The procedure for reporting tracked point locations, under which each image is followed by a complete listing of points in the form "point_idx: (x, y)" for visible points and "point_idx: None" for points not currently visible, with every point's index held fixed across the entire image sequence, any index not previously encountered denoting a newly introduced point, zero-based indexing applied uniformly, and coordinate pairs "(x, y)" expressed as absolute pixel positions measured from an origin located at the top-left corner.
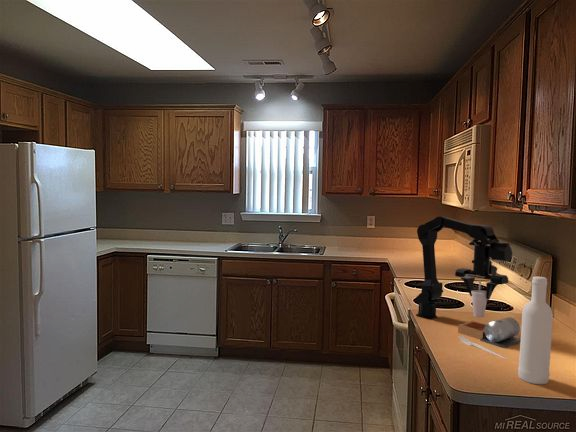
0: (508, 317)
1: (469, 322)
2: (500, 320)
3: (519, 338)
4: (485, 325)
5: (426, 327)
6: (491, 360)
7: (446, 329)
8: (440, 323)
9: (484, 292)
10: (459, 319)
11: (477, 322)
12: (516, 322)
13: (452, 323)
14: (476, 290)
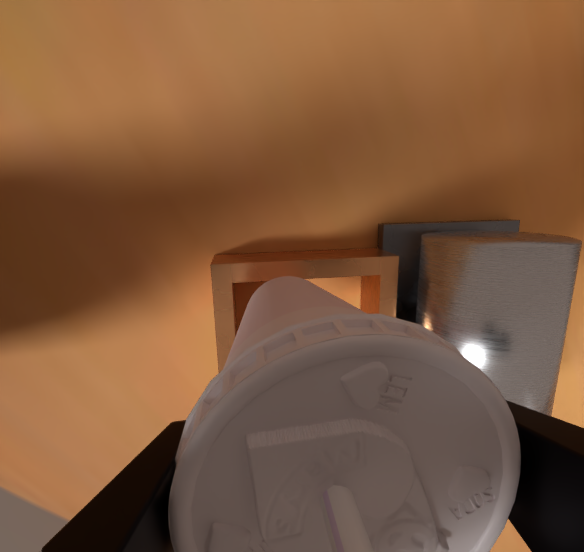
0: (535, 260)
1: (228, 327)
2: (525, 402)
3: (503, 224)
4: (324, 277)
5: (66, 491)
6: (504, 548)
7: (152, 418)
8: (34, 355)
9: (441, 466)
10: (8, 133)
11: (258, 272)
12: (578, 261)
13: (71, 281)
14: (272, 525)
